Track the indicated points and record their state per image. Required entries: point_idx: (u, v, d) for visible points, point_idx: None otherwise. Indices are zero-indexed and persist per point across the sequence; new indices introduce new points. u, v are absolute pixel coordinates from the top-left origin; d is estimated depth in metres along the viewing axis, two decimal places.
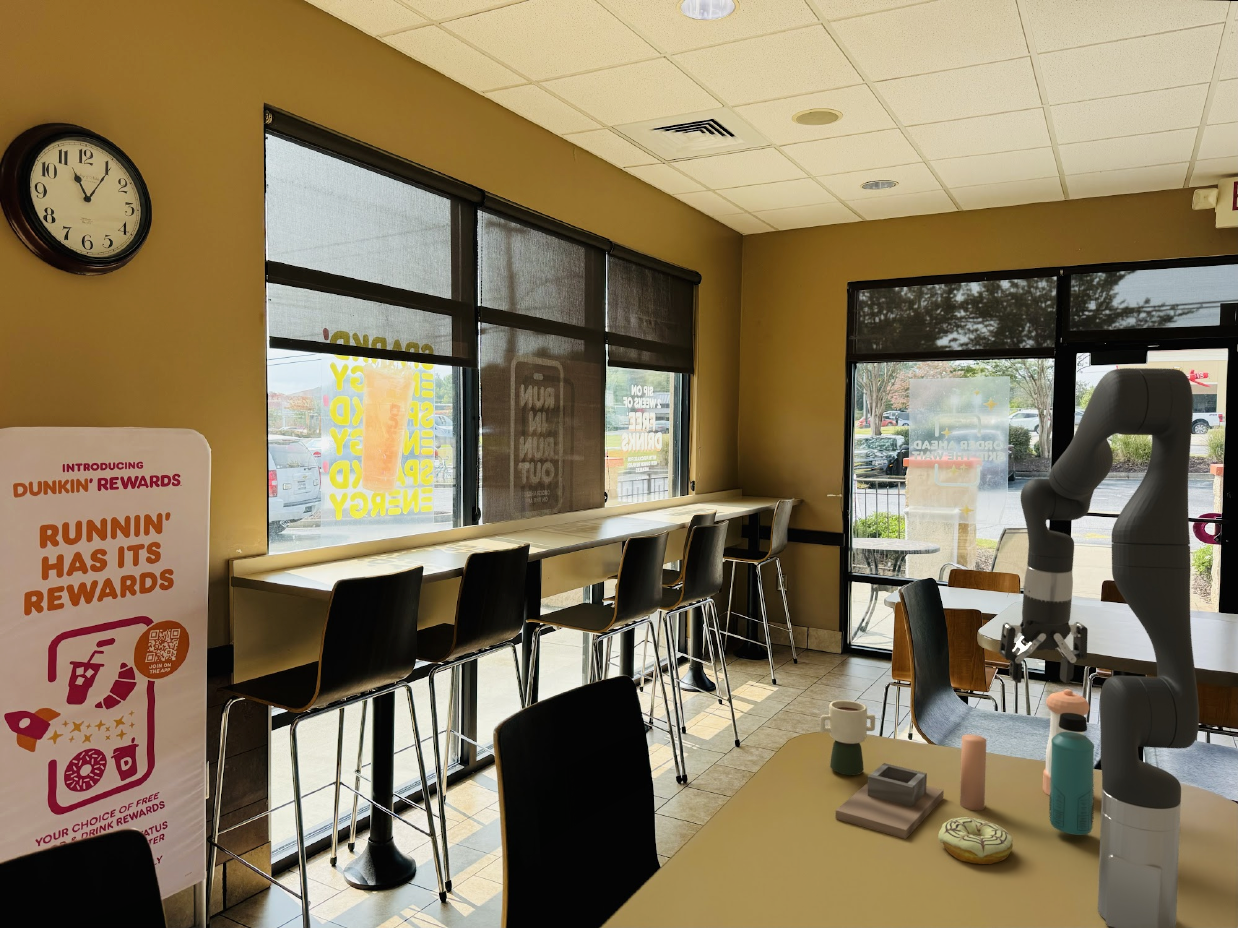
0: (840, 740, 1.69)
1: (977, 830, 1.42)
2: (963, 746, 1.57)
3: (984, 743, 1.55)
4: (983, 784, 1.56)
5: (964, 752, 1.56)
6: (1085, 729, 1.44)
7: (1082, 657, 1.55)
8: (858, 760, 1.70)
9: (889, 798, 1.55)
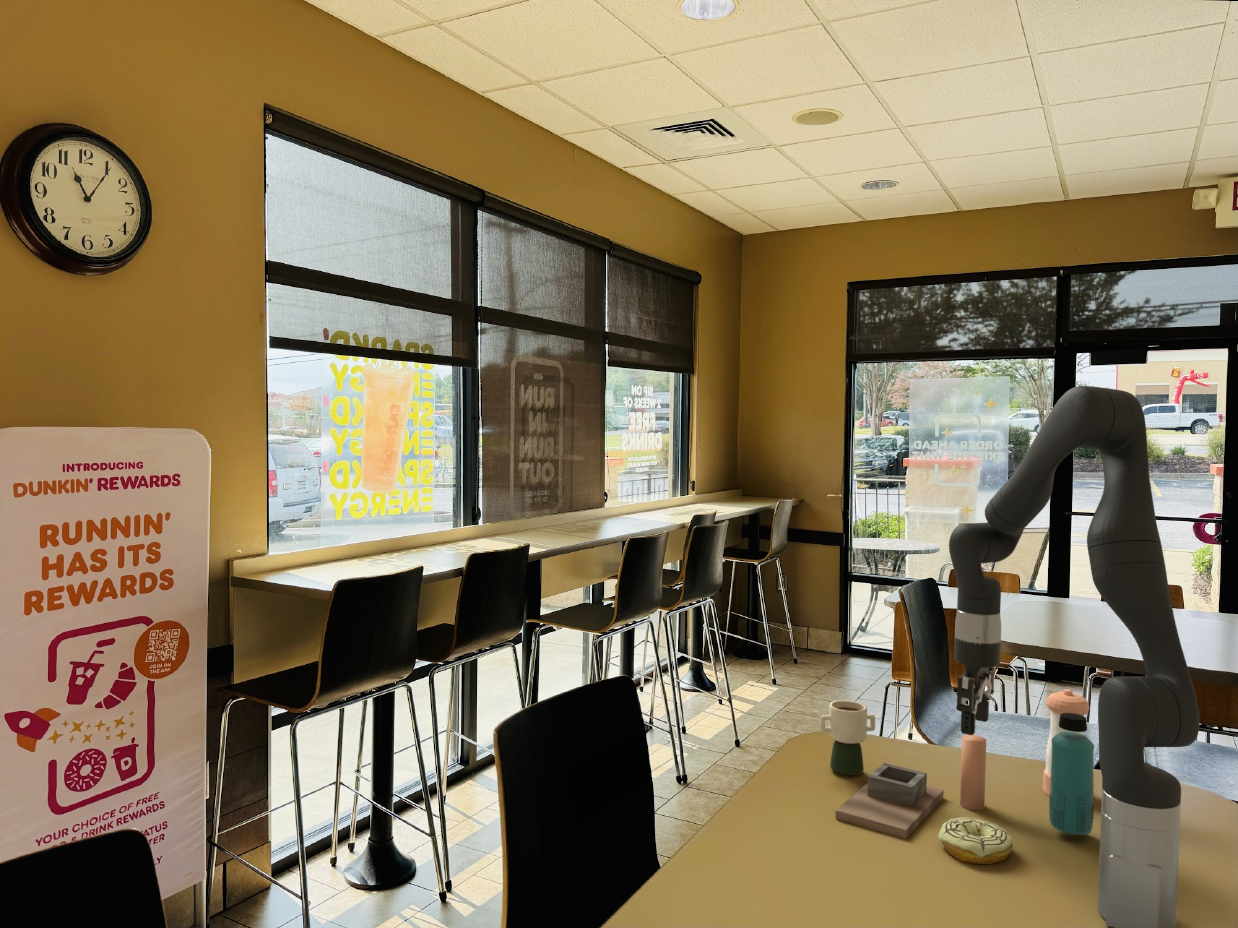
0: (840, 740, 1.69)
1: (977, 830, 1.42)
2: (963, 746, 1.57)
3: (984, 743, 1.55)
4: (983, 784, 1.56)
5: (964, 752, 1.56)
6: (1085, 729, 1.44)
7: (992, 692, 1.61)
8: (858, 760, 1.70)
9: (889, 798, 1.55)
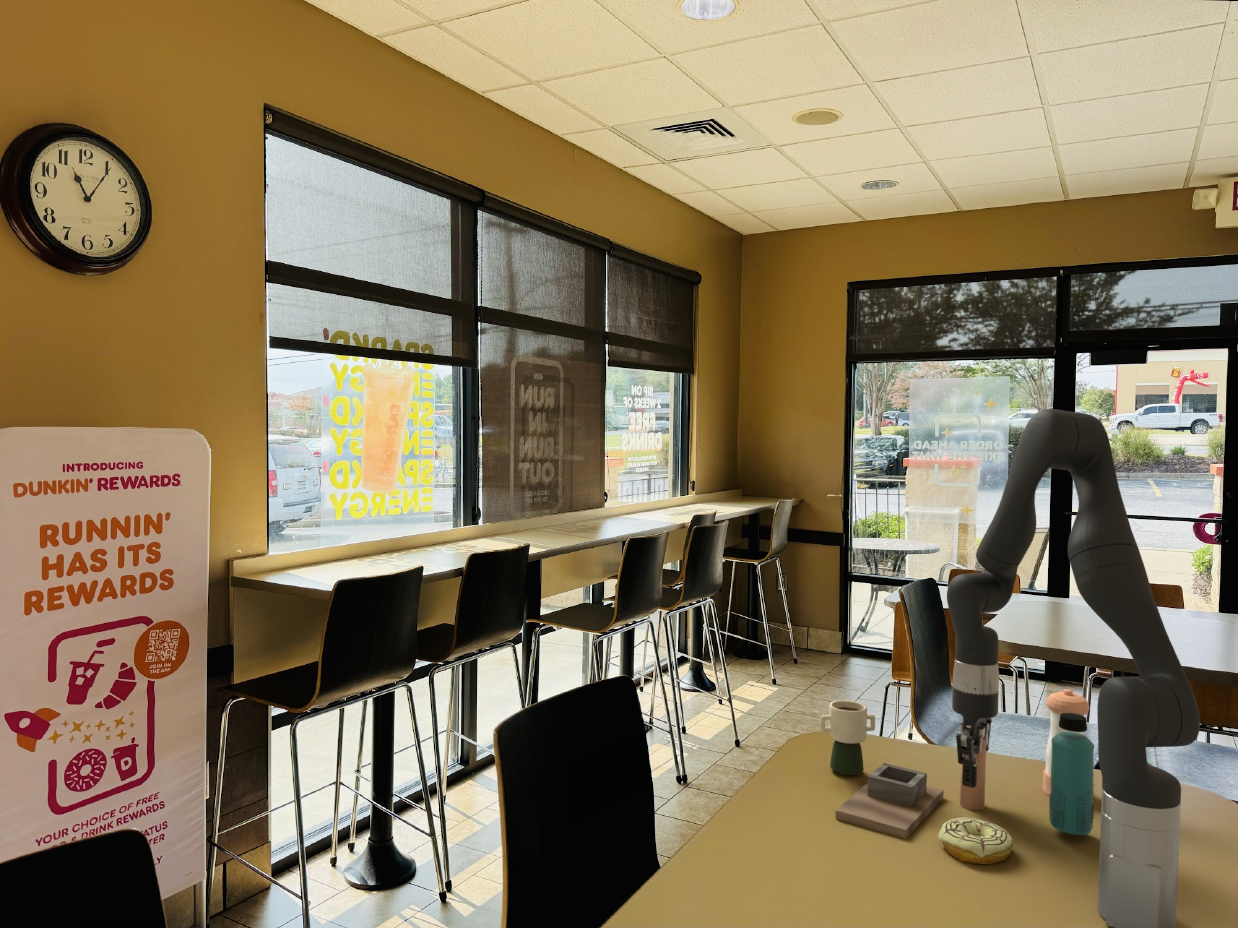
0: (840, 740, 1.69)
1: (977, 830, 1.42)
2: None
3: (984, 743, 1.55)
4: (983, 784, 1.56)
5: None
6: (1085, 729, 1.44)
7: (987, 749, 1.60)
8: (858, 760, 1.70)
9: (889, 798, 1.55)
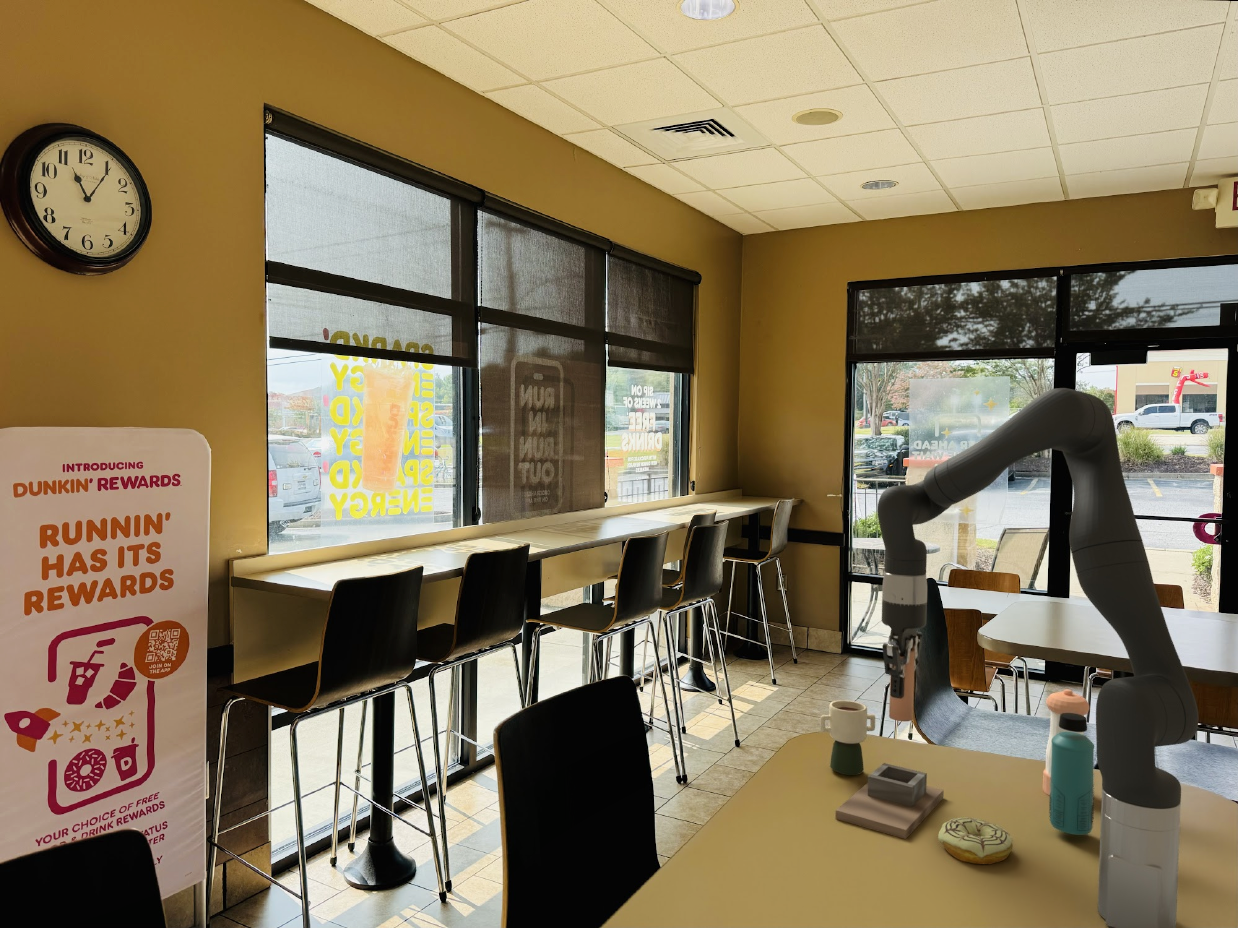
0: (840, 740, 1.69)
1: (977, 830, 1.42)
2: None
3: (912, 654, 1.56)
4: (911, 695, 1.56)
5: None
6: (1085, 729, 1.44)
7: (917, 663, 1.60)
8: (858, 760, 1.70)
9: (889, 798, 1.55)
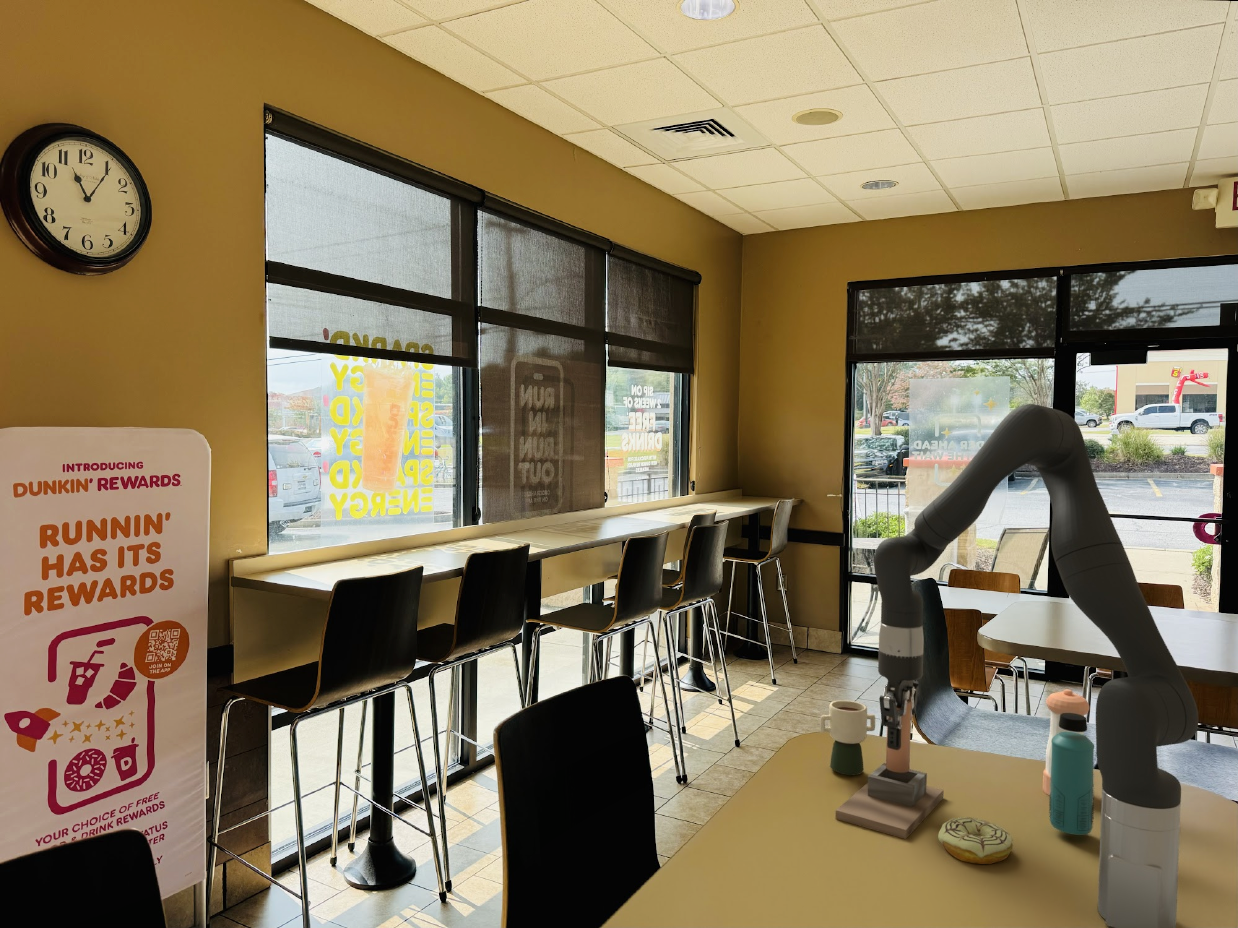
0: (840, 740, 1.69)
1: (977, 830, 1.42)
2: None
3: (908, 706, 1.56)
4: (908, 746, 1.56)
5: None
6: (1085, 729, 1.44)
7: (914, 712, 1.60)
8: (858, 760, 1.70)
9: (889, 798, 1.55)
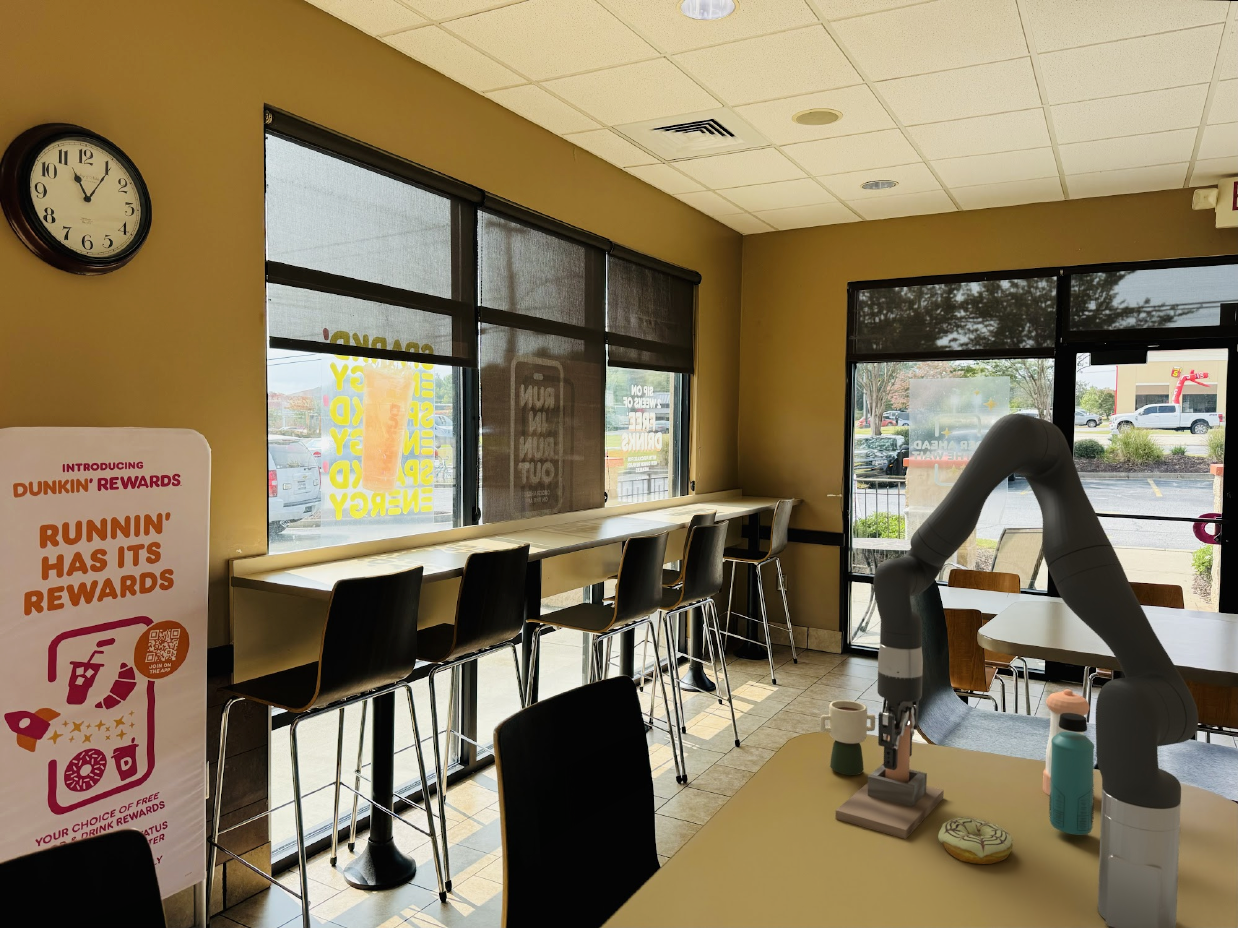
0: (840, 740, 1.69)
1: (977, 830, 1.42)
2: None
3: (908, 732, 1.56)
4: (907, 773, 1.57)
5: None
6: (1085, 729, 1.44)
7: (916, 727, 1.62)
8: (858, 760, 1.70)
9: (889, 798, 1.55)
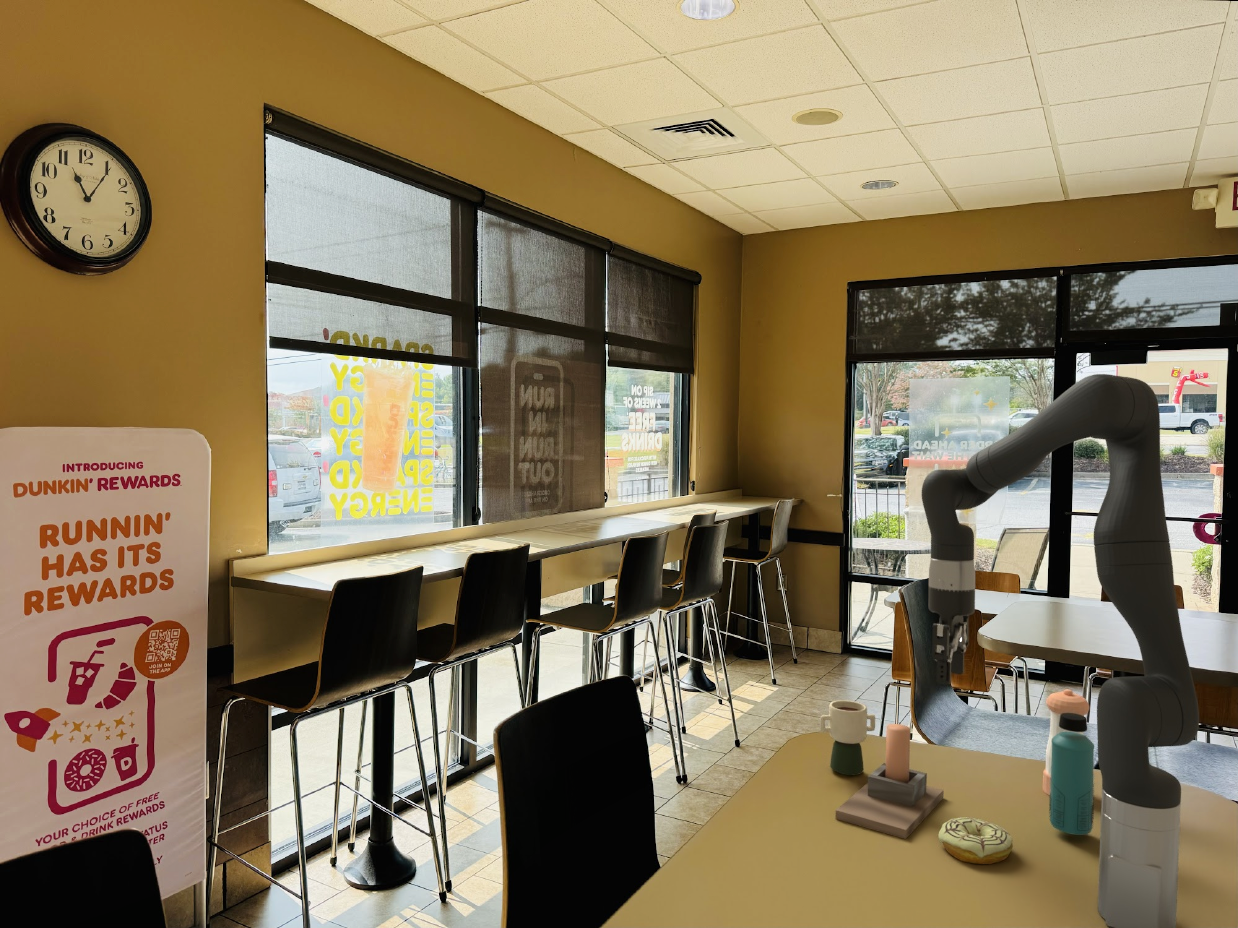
0: (840, 740, 1.69)
1: (977, 830, 1.42)
2: (887, 735, 1.57)
3: (907, 732, 1.56)
4: (907, 773, 1.57)
5: (888, 741, 1.57)
6: (1085, 729, 1.44)
7: (967, 644, 1.58)
8: (858, 760, 1.70)
9: (889, 798, 1.55)
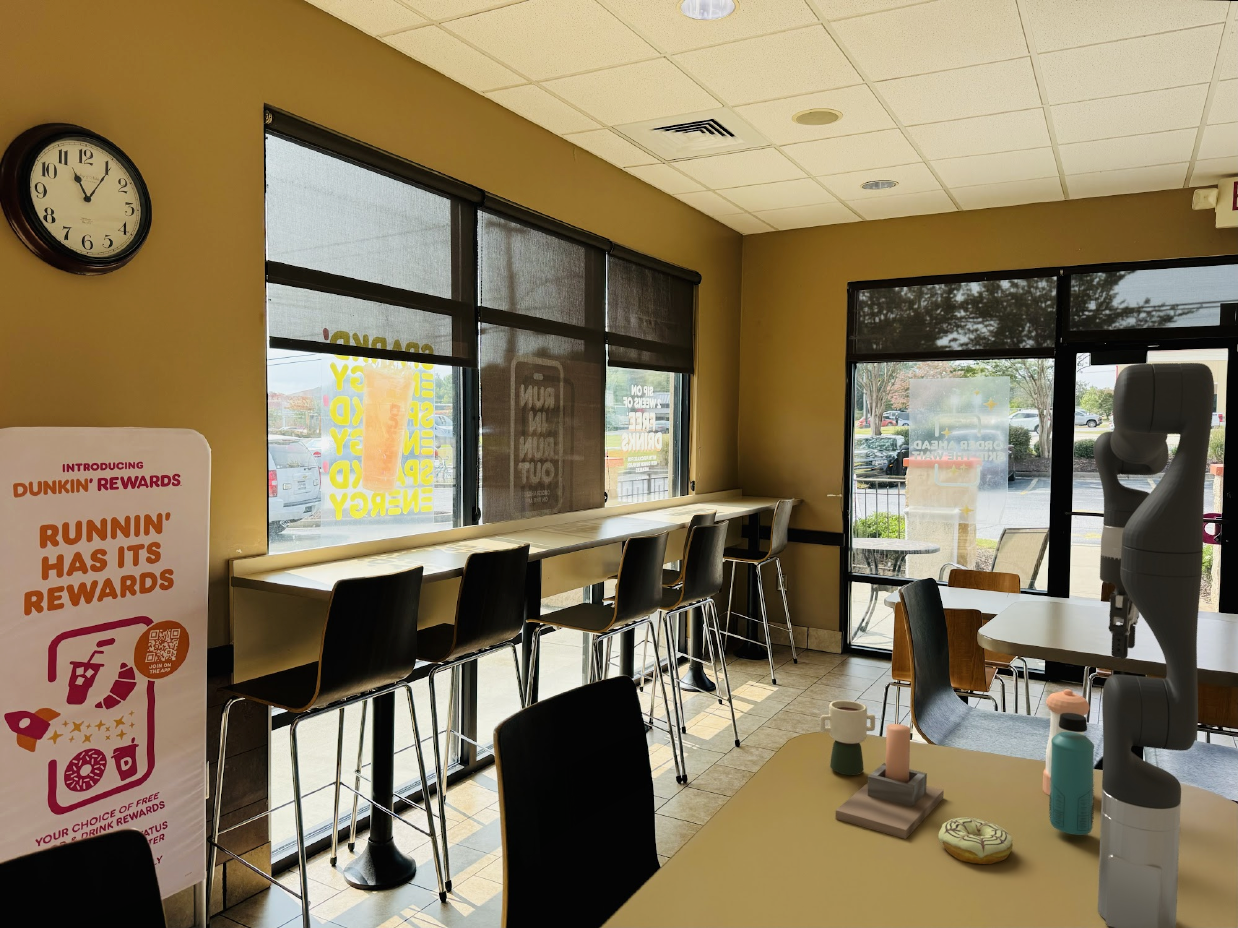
0: (840, 740, 1.69)
1: (977, 830, 1.42)
2: (887, 735, 1.57)
3: (908, 732, 1.56)
4: (907, 773, 1.57)
5: (888, 741, 1.57)
6: (1085, 729, 1.44)
7: (1138, 617, 1.50)
8: (858, 760, 1.70)
9: (889, 798, 1.55)
